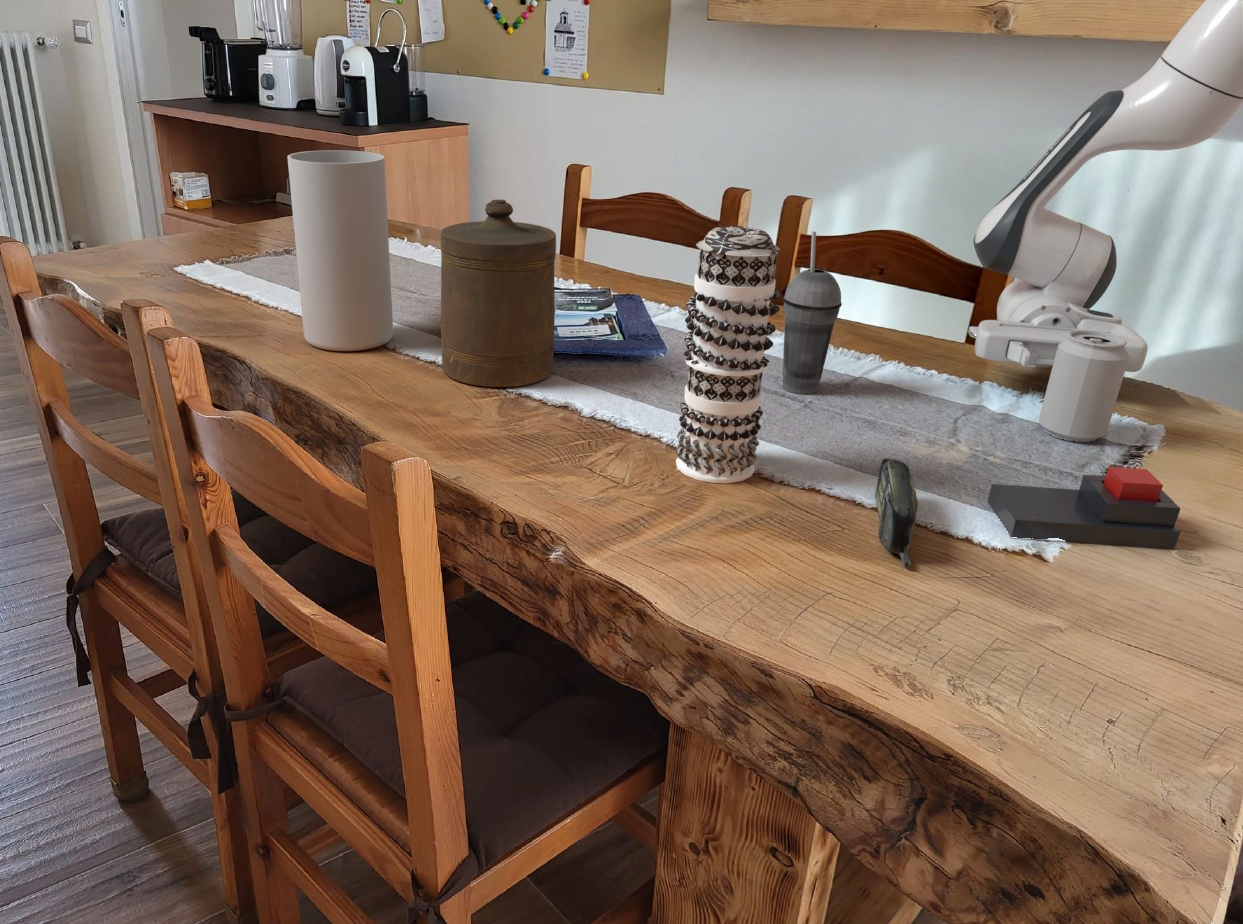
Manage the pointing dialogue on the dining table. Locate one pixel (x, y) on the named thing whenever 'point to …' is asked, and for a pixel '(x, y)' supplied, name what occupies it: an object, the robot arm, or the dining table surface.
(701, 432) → the decorative candle
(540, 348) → the wooden container
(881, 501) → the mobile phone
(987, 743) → the dining table surface
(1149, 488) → the red rectangular button
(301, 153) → the cylinder vase
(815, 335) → the beverage cup
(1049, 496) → the dark grey stepped block
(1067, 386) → the can
